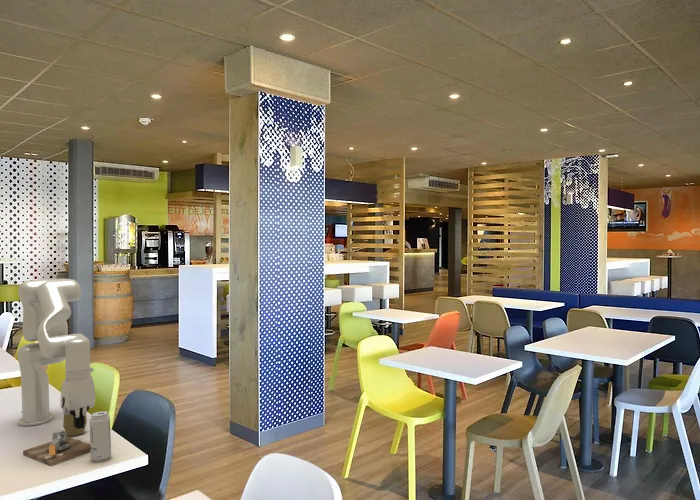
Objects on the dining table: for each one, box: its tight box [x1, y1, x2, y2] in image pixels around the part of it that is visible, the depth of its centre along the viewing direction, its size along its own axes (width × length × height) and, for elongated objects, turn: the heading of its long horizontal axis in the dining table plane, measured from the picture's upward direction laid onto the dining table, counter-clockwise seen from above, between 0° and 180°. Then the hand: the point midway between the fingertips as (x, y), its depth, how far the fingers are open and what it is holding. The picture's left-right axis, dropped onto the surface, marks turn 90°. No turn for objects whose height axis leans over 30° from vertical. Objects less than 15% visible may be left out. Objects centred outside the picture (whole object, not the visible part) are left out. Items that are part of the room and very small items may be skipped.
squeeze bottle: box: [62, 409, 88, 437], centre depth 199 cm, size 8×8×18 cm
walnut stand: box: [22, 435, 91, 467], centre depth 181 cm, size 18×15×2 cm
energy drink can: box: [89, 410, 112, 463], centre depth 174 cm, size 6×6×15 cm
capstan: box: [47, 430, 70, 456], centre depth 177 cm, size 13×7×5 cm, turn 18°
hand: (79, 427), depth 181 cm, fingers closed
